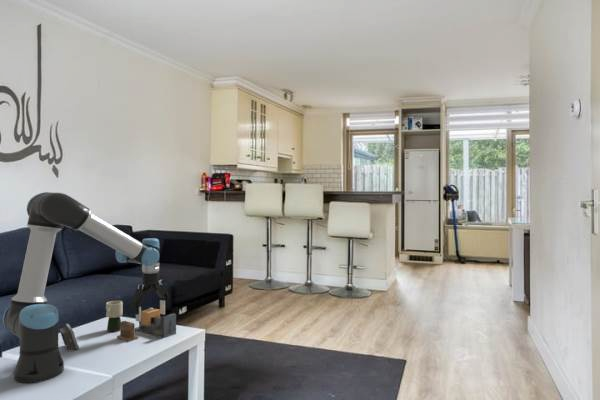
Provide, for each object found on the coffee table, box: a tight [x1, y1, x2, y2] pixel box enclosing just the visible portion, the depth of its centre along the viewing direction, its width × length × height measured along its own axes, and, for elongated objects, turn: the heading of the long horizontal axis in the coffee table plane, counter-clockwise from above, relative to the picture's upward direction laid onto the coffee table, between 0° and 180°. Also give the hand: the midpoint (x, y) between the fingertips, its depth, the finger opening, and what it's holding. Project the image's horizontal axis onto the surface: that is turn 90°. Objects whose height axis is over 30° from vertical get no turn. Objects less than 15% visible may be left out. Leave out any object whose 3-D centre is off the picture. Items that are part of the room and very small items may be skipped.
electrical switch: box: [58, 323, 80, 352], centre depth 176 cm, size 9×5×9 cm, turn 38°
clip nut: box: [141, 307, 161, 326], centre depth 198 cm, size 6×5×7 cm
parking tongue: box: [116, 320, 139, 343], centre depth 188 cm, size 5×8×7 cm, turn 58°
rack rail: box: [134, 313, 177, 339], centre depth 197 cm, size 7×20×9 cm, turn 58°
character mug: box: [105, 300, 124, 332], centre depth 199 cm, size 11×7×13 cm, turn 176°
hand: (150, 317), depth 198 cm, fingers open, 13 cm apart
